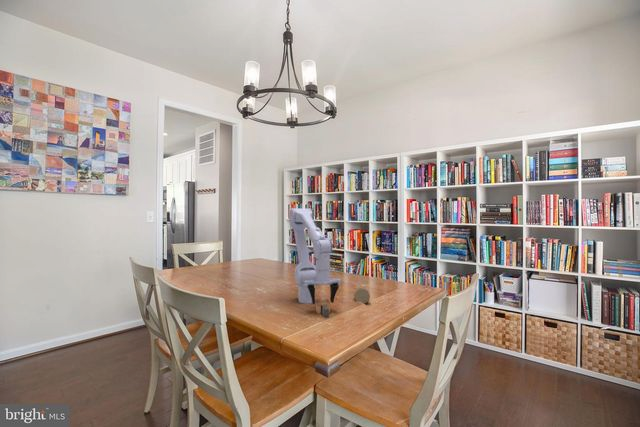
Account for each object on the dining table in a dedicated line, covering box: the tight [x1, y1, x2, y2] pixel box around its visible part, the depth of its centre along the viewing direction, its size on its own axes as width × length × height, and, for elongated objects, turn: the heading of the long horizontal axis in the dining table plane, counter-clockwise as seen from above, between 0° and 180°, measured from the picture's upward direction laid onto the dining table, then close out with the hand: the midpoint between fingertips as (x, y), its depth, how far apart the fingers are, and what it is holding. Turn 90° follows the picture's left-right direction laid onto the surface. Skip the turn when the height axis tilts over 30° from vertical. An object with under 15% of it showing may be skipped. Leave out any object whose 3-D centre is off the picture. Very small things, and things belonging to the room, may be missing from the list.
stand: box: [316, 298, 330, 319], centre depth 118 cm, size 18×8×4 cm, turn 13°
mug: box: [353, 287, 371, 305], centre depth 134 cm, size 8×10×10 cm
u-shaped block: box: [315, 298, 331, 315], centre depth 118 cm, size 4×5×4 cm
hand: (322, 302), depth 118 cm, fingers open, 7 cm apart
